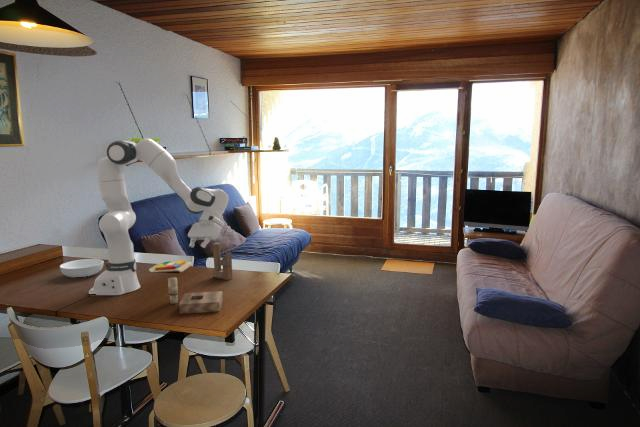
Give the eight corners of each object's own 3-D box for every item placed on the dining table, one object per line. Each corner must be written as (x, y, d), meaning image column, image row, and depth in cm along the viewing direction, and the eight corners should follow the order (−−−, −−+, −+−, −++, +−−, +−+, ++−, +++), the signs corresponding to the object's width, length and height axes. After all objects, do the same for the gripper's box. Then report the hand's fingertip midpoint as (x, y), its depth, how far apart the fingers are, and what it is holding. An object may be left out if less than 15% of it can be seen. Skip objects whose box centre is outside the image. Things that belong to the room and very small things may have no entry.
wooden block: (227, 280, 224) (226, 245, 221) (212, 277, 229) (211, 243, 227) (232, 278, 227) (231, 244, 224) (218, 275, 232) (216, 242, 230)
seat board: (179, 313, 179) (179, 304, 179) (185, 301, 193) (185, 293, 192) (219, 311, 181) (219, 302, 181) (222, 299, 195) (222, 291, 194)
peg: (168, 304, 190) (166, 280, 189) (170, 301, 194) (168, 277, 192) (177, 303, 191) (176, 279, 189) (179, 300, 195) (177, 277, 193)
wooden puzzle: (162, 264, 258) (162, 258, 258) (193, 265, 256) (193, 259, 256) (148, 273, 241) (147, 267, 241) (181, 273, 239) (180, 267, 239)
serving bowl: (99, 279, 230) (98, 266, 229) (55, 283, 225) (53, 270, 224) (108, 268, 250) (107, 257, 249) (67, 272, 245) (66, 260, 244)
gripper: (192, 218, 212) (179, 243, 206) (216, 217, 198) (203, 244, 192) (201, 224, 216) (189, 249, 210) (226, 223, 202) (214, 250, 196)
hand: (196, 247), depth 201 cm, fingers open, 8 cm apart
